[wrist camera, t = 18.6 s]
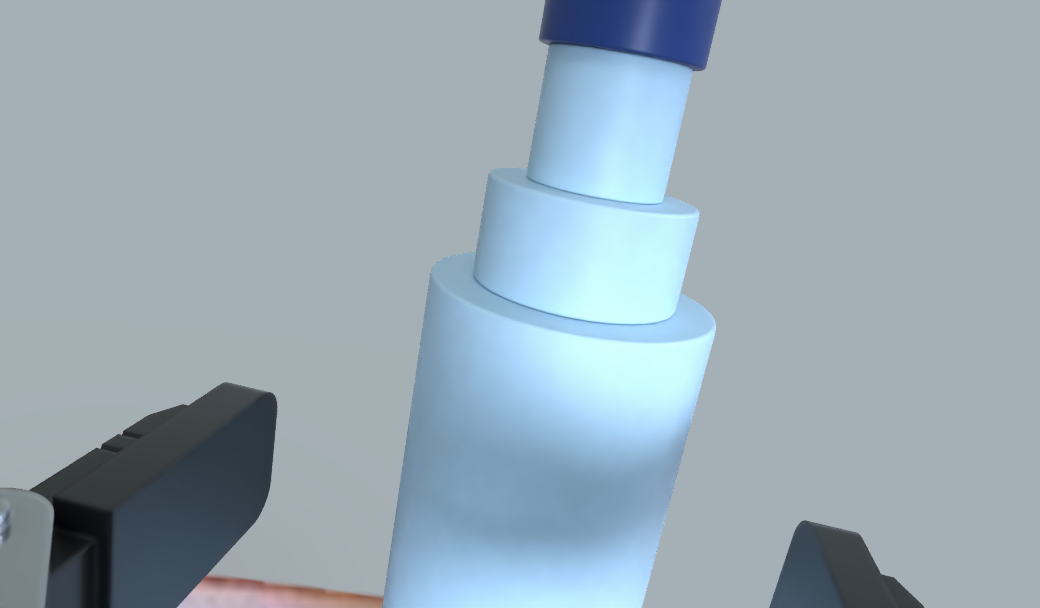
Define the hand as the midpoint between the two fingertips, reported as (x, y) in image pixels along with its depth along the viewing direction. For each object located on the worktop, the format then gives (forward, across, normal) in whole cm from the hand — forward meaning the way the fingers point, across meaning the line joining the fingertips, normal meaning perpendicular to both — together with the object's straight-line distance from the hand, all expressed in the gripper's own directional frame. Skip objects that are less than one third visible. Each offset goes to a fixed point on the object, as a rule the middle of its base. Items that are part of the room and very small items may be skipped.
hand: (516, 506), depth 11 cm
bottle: (+4, 0, +12) cm, 12 cm away
